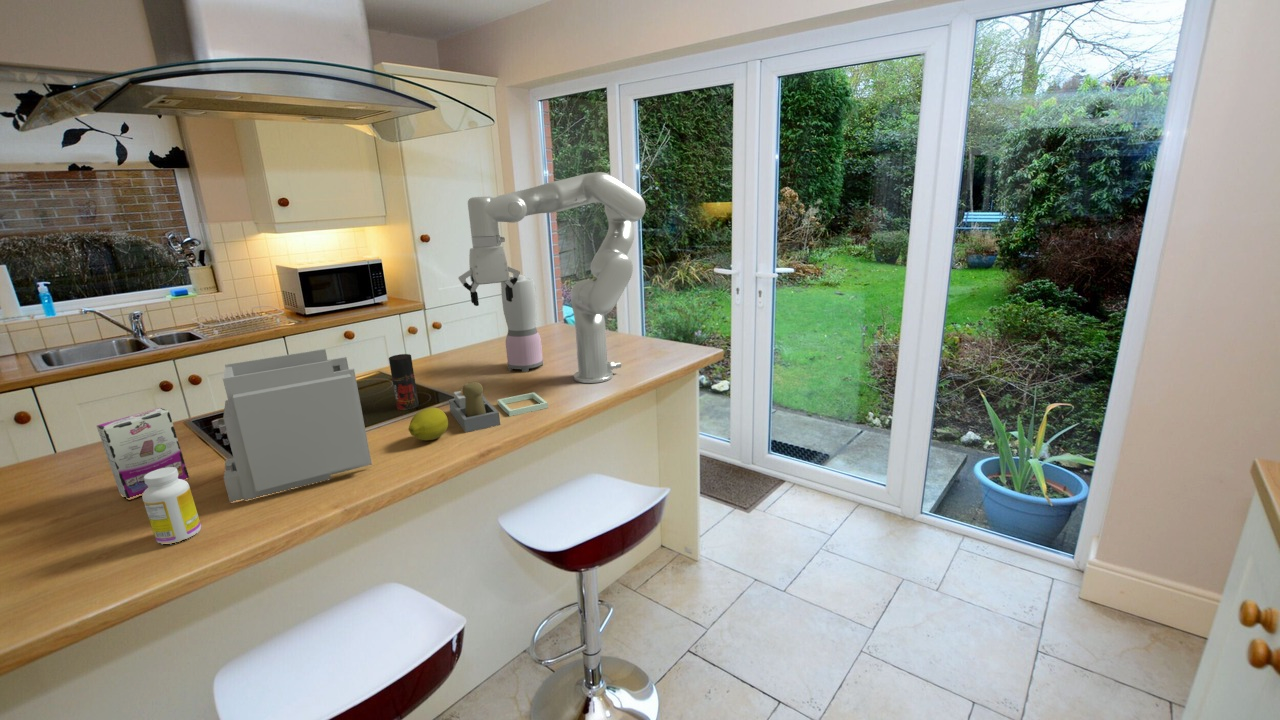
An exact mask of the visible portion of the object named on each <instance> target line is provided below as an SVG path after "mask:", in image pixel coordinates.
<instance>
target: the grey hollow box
mask: <svg viewBox="0 0 1280 720" xmlns="http://www.w3.org/2000/svg"><path fill="white" fill-rule="evenodd" d="M483 400H484V406H485V410H486V414H481V415H476V416H472V417H467V418H466V416H465V407H463V408H458V406H457V405H456V404H455V399H454V398H451V399H449V400H448V404H449V411H450V414H451V415H452V416H453V417H454V419H455V420H456V421H457V422H458V424H459V425H460V427H461V428H462V429H463V431H464V433H466V432H467V433H472V432H475V430H476V431H478V430H479V431H481V430H483V429H488V427H489V428H492V427H491V426H493V427H497V426H500V425H501V418H500V412H499V411H498V410H497V409H496V408H495V407H494V406H493V404H491V403H490V402H489V401H488V400H487V399H486V397H485V396H484V395H483ZM496 425H497V426H496Z"/></svg>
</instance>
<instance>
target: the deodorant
mask: <svg viewBox="0 0 1280 720" xmlns="http://www.w3.org/2000/svg"><path fill="white" fill-rule="evenodd" d="M388 362H389V368H390V374H391V380H392V386H393V392H394V393H393V394H394V398H395V403H396V410H400V411H408V409H409V410H413V409H415V407H416V408H417V407H419V397H418V392H417V385H416V379H415V372H414V366H413V360H412V354H409V353H402V354H395V355H391V356H389V358H388ZM412 408H413V409H412Z"/></svg>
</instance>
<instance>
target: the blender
mask: <svg viewBox="0 0 1280 720" xmlns="http://www.w3.org/2000/svg"><path fill="white" fill-rule="evenodd" d="M512 278H513V275H509V279H508V280H509V281H510V280H511V279H512ZM500 286H501V287H500V291H501V301H502V309H503V315H504V319H505V322H506V325H507V334H506V337H505V350H506V351H505V352H506V359H507V368H508V371H510V372H512V371H513V369H514V370H521V372H522V373H529V371H530V370H529V369H533V368H537V367H540V366H543V367H544V358H543V347H542V339H541V334H540V333H539V332H538V329H537V313H538V305H537V291H536V285H535V280H534V279H533V278H532V277H526V276H525V274H519V277H518V279H517V282H516V283H515V284H514V286H513V288H512V290H513V298H512V302H509V301H507V300H506V291H505V288H506V284H505V283H504V282H500Z"/></svg>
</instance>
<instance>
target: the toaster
mask: <svg viewBox="0 0 1280 720" xmlns="http://www.w3.org/2000/svg"><path fill="white" fill-rule="evenodd" d="M347 359H348V357H347V356H343V357H337V358H332V359H328V356H327V351H326V348H323V349H317V350H309V351H304V352H297V353H296V352H295V353H291V354H284V355H277V356H272V357H271V356H270V357H263V358H258V359H252V360H245V361H239V362H232V363H227V364H224V367H225V369H224V375H223V378H222V382H223V386H224V389H225V393H226V394H225V395H226V397H227V400H226V399H225V401H224V411H223V416H222V418H223V422H224V426H225V430H226V434H227V438H228V441H229V446H230V448H231V452H232V457H231V458H226V459H225V462H224V468H225V470H224V472H223V481H224V485H225V489H226V492H227V496H228V499H229V503H230V502H233V501H236V500H241V499H244V500H248V499H253V498H256V497H260V496H263V495H268V494H272V493H276V492H280V491H284V490H288V489H291V488H295V487H300V486H304V485H308V484H312V483H316V482H320V481H324V480H327V481H329V480H328V479H331V480H332V476H333V475H336V474H341V473H345V472H349V471H352V470H356V469H361V468H363V467H368V466H371V465H372V463H373V462H372V458H371V454H370V453H371V452H370V447H369V442H368V437H367V430H366V427H365V426H366V425H365V422H364V421H365V420H364V415H363V410H362V405H361V398H360V394H359V393H360V392H359V389H358V383H357V378H356V371H355V368H349V363H348V360H347ZM324 482H325V481H324ZM320 483H321V482H320ZM316 484H317V483H316ZM312 485H313V484H312ZM308 486H309V485H308Z"/></svg>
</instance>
